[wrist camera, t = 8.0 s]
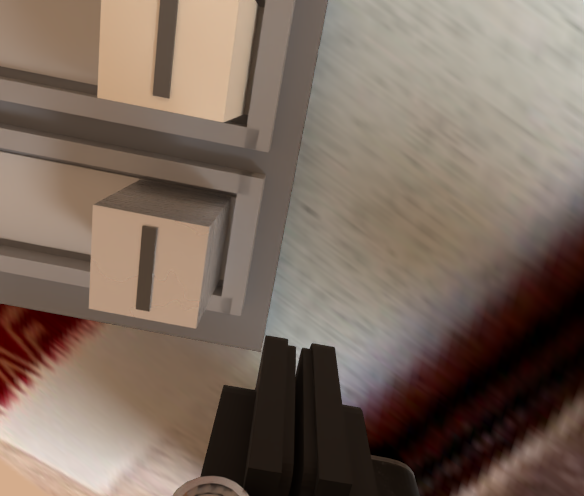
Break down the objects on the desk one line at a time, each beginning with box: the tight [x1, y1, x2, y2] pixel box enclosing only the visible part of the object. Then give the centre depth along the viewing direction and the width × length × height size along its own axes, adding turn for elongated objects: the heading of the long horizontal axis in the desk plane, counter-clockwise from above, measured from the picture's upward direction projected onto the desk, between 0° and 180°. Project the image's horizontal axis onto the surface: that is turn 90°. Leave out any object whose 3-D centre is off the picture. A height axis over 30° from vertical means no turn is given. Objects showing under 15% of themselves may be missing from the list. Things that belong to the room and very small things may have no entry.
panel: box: [0, 0, 328, 352], centre depth 17 cm, size 17×25×6 cm
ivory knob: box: [97, 0, 259, 122], centre depth 16 cm, size 4×4×5 cm
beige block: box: [89, 179, 231, 329], centre depth 18 cm, size 4×4×5 cm
